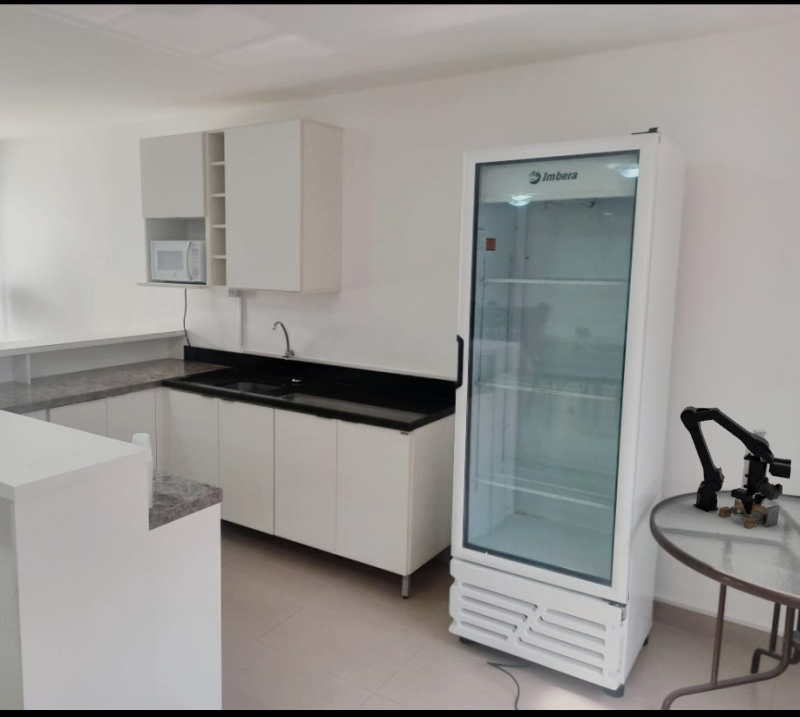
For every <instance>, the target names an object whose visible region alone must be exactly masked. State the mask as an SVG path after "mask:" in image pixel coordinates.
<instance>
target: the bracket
mask: <svg viewBox="0 0 800 717" xmlns="http://www.w3.org/2000/svg"><path fill="white" fill-rule="evenodd" d="M730 508H732V509H731V514H732V515H736V516H739V517H741V518H743V519H744V520H745V519H746V518H749V517H754V518H756V519H757V525H759V526H760V527H765V528H769V527H772V526H775V525H776V526H777V525H778V521H779V514H780V505H778V504H776V505H772V506H768V507H767V510H766V518H765V514H763V513H760V512H758V511H754V516H752V515H748V514H746V513H745V512H742V511H740V510H738V508H736V507H734V505H732V506H730Z"/></svg>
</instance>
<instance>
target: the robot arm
mask: <svg viewBox="0 0 800 717" xmlns="http://www.w3.org/2000/svg"><path fill="white" fill-rule="evenodd" d="M679 417H680V418H679V419H680V421H681V423H682V424H683V426H684V428H685V429H686V430H687V432H688V433H689V434H690V437H691V440H692V443H693V445H694V448H695V451H696V453H697V456H698V458H699V461H700V464H701V468H702V473H703V480H702V481H701V482H700V483H699V486H698V488H697V491H696V501H695V503H693V504H692V507H695V508H697V509H699V510H701V511H704V512H706V513H709V512H713V511H717V510H719V508H720V507H718V492H720V491H721V490H722V488H723V485H724V483H725V482H724V480H725V478H726V476H725V475H724V473H723V471H722V467H721V466H720V467H717V466H716V465H715V463H714V461H713V458H712V455H711V453H710V450H709V447H708V444H707V442H706V439H705V436H704V434H703V431H702V425H701V422H706V421H714V423H716V424H718V425H719V426H721V427H722V428H723V429H725V430H726V431H727V432H729V433H730V434H731V435H733V436H734V437H735V438H737V439H738V440H739V441H740V442H741V443H742V444H743V445H744V446H745V449H746V448H747V449H748V450H749V451H750V452H751V453H752V454H753V455H752V454H751V453H750V452H749V453H748V454H747V455H745V454H744V456H743V461H744V460H749V466H748V473H747V474H745V477H747V483H746V484H745V485H743V487H744V488H746V489H747V490H744V489H741V487H738V488H733V489H731V490H730V497H732V498H734V499H739V500H741V502H742V504H743V506H744V509H745V511H746V514H748V515H750V513H751V510H752V506H753V502H754V503H756V504H759V505H762V504H763V503H764V501H765V500H768V501H773V500H778V499H779V497H780V495H783V485H782V484H781V483H776V484H774V483H771V482H770V480H769V479H770V478H769V477H768V476H767V477H766V470H767V471H768V473H769V475H770V476H772V477H775V478H781V479H787V480H790V478H791V473H792V467H791V466H792V459H789V458H780V457H775V455H774V453H773V451H772V450H771V448H770V449H769V443H770V441H769V440H768V439H767V438H766V439H764V438H762V437H760V436H758V435H756V434H754V432H750V431H749V430H748V429H746V428H744V426H742V425H741V424H740V423H737V421H735V420H734V419H732V418H731V417H730V416H728V415H727V414H726V413H724V412H722V410H721V409H720V408H719V407H695V406H692V405H690V406H689V405H688V406H686V407H684V408H683V409H682V411H681V413H680V416H679ZM768 441H769V442H768ZM767 464H768V469H767ZM762 502H763V503H762Z"/></svg>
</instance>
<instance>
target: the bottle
mask: <svg viewBox="0 0 800 717" xmlns="http://www.w3.org/2000/svg"><path fill="white" fill-rule="evenodd" d="M752 431H753V432H752V433H754V434H756V435H758V436H760V437H762V438H764V439H766V440H767V437H766V434H767V433H768V430H766V429H764V428H753V429H752ZM767 441H768V442H769V449H770V450H771V443H770V441H769V440H767ZM749 452H750V451H749V450H748V449H747V448H746V447H745V452H744V456H745V455H747V454H748V453H749ZM750 453H751V452H750ZM751 454H752V453H751ZM752 455H753V454H752ZM748 466H749V460H744V459H743V469H742V477H741V478H742V479H741V486H740V488H741V489H744V490H747V489H746V488H744V487H743V485H745V484H746V483H747V477H745V474H747V473H748ZM768 470H769V464H767V470H766V477H768V476H767V475H768Z"/></svg>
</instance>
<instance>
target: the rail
mask: <svg viewBox="0 0 800 717" xmlns="http://www.w3.org/2000/svg"><path fill="white" fill-rule="evenodd" d="M733 503H734V504H733V506H734V507H736V508H738V510H740V511H742V512H745V513H746V511H745V509H744V506H743V504H742V502H741V500H739V499H736V498H734V502H733ZM767 508H768V507H766V506H764V505H762V504H761V505H759V504H756V503H754V502H753V506H752V510H751V513H750V515H752V516H754V511H758V512H760V513H763V514H765V518H766V510H767Z"/></svg>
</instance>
